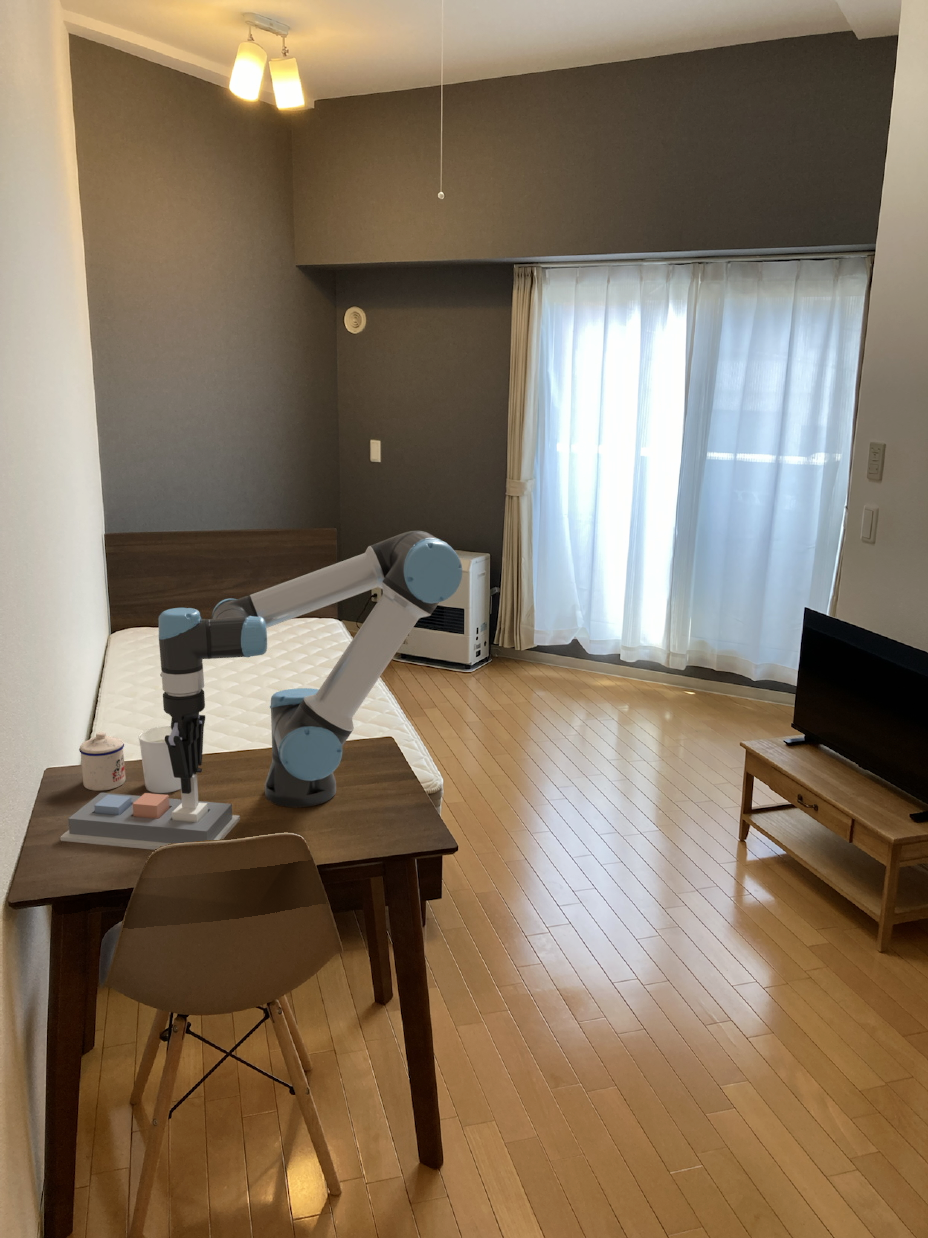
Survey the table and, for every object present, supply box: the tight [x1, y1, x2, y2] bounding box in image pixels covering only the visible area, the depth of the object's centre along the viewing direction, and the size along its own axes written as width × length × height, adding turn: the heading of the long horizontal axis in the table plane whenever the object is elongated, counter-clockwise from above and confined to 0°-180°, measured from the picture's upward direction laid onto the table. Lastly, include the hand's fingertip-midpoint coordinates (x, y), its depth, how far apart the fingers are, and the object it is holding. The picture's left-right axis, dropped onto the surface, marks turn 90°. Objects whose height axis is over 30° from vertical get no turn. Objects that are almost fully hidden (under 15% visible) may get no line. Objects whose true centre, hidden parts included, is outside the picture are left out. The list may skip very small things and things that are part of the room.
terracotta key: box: [133, 792, 170, 819], centre depth 181 cm, size 5×5×3 cm
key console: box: [60, 792, 241, 851], centre depth 182 cm, size 30×15×4 cm, turn 81°
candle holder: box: [138, 725, 181, 794], centre depth 201 cm, size 10×10×12 cm
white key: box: [172, 803, 208, 822], centre depth 181 cm, size 5×5×3 cm
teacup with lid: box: [78, 731, 126, 792], centre depth 203 cm, size 12×9×12 cm
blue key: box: [94, 795, 132, 815], centre depth 183 cm, size 5×5×3 cm
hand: (190, 805), depth 180 cm, fingers closed
